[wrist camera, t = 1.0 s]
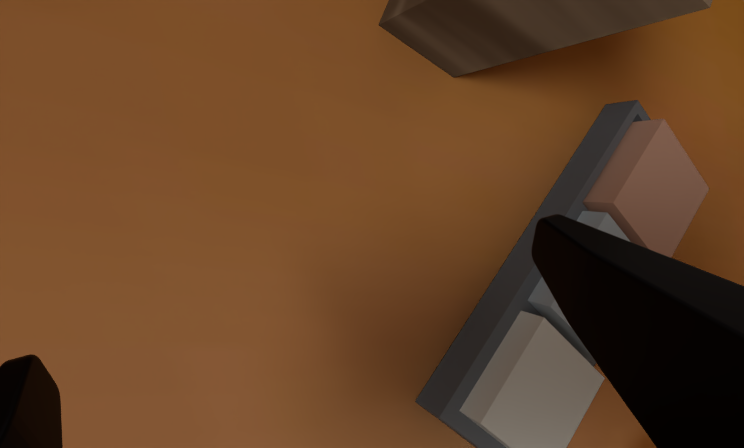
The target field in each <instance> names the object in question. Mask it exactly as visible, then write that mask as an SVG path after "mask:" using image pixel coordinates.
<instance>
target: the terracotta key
mask: <svg viewBox="0 0 744 448" xmlns="http://www.w3.org/2000/svg"><path fill="white" fill-rule="evenodd" d="M708 190H709V187H708V186H707V184H706V183H705V181H704V180H703V178H702V177H701V175H700V174H699V172H698V170H697V169H696V167H695V166H694V164H693V163H692V161H691V160H690V158H689V157H688V155H687V153H686V152H685V150H684V149H683V147H682V146H681V144H680V143H679V141H678V140H677V138H676V136H675V135H674V133H673V132H672V130H671V129H670V127H669V126H668V124H667V123H666V121H665V119H656V120H646V121H637V122H632V123H631V125H630V127H629V128H628V130H627V131H626V133H625V135H624V136H623V138H622V139H621V141H620V143H619V144H618V146H617V148H616V149H615V151H614V152H613V154H612V156H611V157H610V159H609V160H608V162H607V164H606V165H605V167H604V169H603V170H602V172H601V173H600V175H599V177H598V178H597V180H596V181H595V183H594V185H593V186H592V188H591V190H590V191H589V193H588V194H587V196H586V198H585V199H584V201H583V202H582V203H583V204H584V205H585V206H586V208H587V209H588V210H589V211H592V212H608V214H609V215H610V216H611V218H612V219H613V220H614V221H615V223H616V224H617V225H618V226H619V228H620V229H621V230H622V231H623V233H624V234H625V235H626V237H627V238H628V239H629V240H630V242H632V243H634V244H637V245H640V246H642V247H645V248H647V249H650V250H652V251H655V252H657V253H660V254H663V255H665V256H668V257H670V258H671V257H672V255H673V254H674V252H675V250H676V248H677V246H678V244H679V243H680V241H681V239H682V237H683V235H684V234H685V232H686V230H687V228H688V226H689V225H690V223H691V221H692V219H693V217H694V215H695V214H696V212H697V210H698V208H699V206H700V205H701V203H702V201H703V199H704V197H705V196H706V194H707V192H708Z"/></svg>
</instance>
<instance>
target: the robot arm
mask: <svg viewBox="0 0 744 448" xmlns="http://www.w3.org/2000/svg"><path fill="white" fill-rule="evenodd" d="M531 253H532V258H533V261H534V263H535V265H536V267H537V269H538V270H539V272H540V274H541V276H542V277H543V279H544V281H545V283H546V285H547V286H548V288H549V290H550V292H551V293H552V295H553V297H554V299H555V301H556V302H557V304H558V306H559V308H560V309H561V311H562V313H563V315H564V316H565V318H566V320H567V321H568V323H569V325H570V326H571V327H572V329H573V330H574V332H575V333H576V335H577V336H578V338H579V339H580V340H581V342H582V343H583V345H584V346H585V347H586V349H587V350H588V352H589V353H590V354H591V356H592V357H593V359H594V360H595V361H596V363H597V364H598V366H599V367H600V368H601V370H602V371H603V373H604V374H605V376H606V377H607V378H608V380H609V381H610V383H611V384H612V385H613V387H614V388H615V390H616V391H617V392H618V394H619V395H620V397H621V398H622V399H623V401H624V402H625V404H626V405H627V406H628V408H629V409H630V411H631V412H632V413H633V415H634V416H635V418H636V419H637V420H638V422H639V423H640V425H641V426H642V427H643V429H644V430H645V432H646V433H647V434H648V436H649V437H650V439H651V440H652V441H653V443H654V444H655V446H656V447H657V448H744V286H742V285H739V284H737V283H734V282H731V281H729V280H726V279H724V278H721V277H719V276H716V275H714V274H711V273H709V272H706V271H703V270H701V269H698V268H696V267H693V266H691V265H688V264H686V263H683V262H680V261H678V260H675V259H673V258H670V257H668V256H665V255H663V254H660V253H657V252H655V251H652V250H650V249H647V248H645V247H642V246H640V245H637V244H634V243H632V242H629V241H627V240H624V239H622V238H619V237H617V236H614V235H612V234H609V233H606V232H604V231H601V230H599V229H596V228H594V227H591V226H589V225H586V224H583V223H581V222H578V221H576V220H573V219H571V218H568V217H566V216H563V215H560V214H555V215H551V216H547V217H543V218H541V219H539V220H538V222H537V224H536V228H535V233H534V239H533V244H532V249H531ZM0 448H62V425H61V402H60V393H59V390H58V387H57V385H56V383H55V381H54V380H53V378H52V377H51V375H50V374H49V372H48V371H47V369H46V368H45V366H44V365H43V363H42V362H41V360H40V359H39V358H38V357H37V356H36V355H26V356H23V357H19V358H15V359H11V360H8V361H6V362H5V363H3V364H2V365H1V366H0Z"/></svg>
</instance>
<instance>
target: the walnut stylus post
mask: <svg viewBox="0 0 744 448" xmlns="http://www.w3.org/2000/svg"><path fill="white" fill-rule="evenodd" d="M711 3H712V0H389V2H388V4H387V6H386V9H385V11H384V13H383V16H382V18H381V20H380V23H379V26H381V27H382V28H384V29H385V30H386V31H388V32H389V33H391V34H392V35H394V36H395V37H396V38H398V39H399V40H401V41H402V42H404V43H405V44H406V45H408V46H409V47H411V48H412V49H414V50H415V51H416V52H418V53H419V54H421V55H422V56H424V57H425V58H426V59H428V60H429V61H431V62H432V63H434V64H435V65H436V66H438V67H439V68H441V69H442V70H444V71H445V72H447V73H448V74H449V75H451V76H452V77H457V76H461V75H464V74H468V73H472V72H475V71H479V70H483V69H486V68H490V67H494V66H497V65H501V64H505V63H508V62H512V61H516V60H519V59H523V58H527V57H530V56H534V55H538V54H541V53H545V52H549V51H552V50H556V49H560V48H563V47H567V46H571V45H574V44H578V43H582V42H585V41H589V40H593V39H596V38H600V37H604V36H607V35H611V34H615V33H618V32H622V31H626V30H629V29H633V28H637V27H641V26H644V25H648V24H652V23H655V22H659V21H663V20H666V19H670V18H674V17H677V16H681V15H685V14H688V13H692V12H696V11H699V10H703V9H707V8H710V6H711Z"/></svg>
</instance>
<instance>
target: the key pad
mask: <svg viewBox="0 0 744 448" xmlns="http://www.w3.org/2000/svg"><path fill="white" fill-rule="evenodd" d="M646 120H650V118H649V117H648V115H647V114H646V112H645V111H644V109H643V108H642V106H641V104H640V103H639V101H638V100H634V101H627V102H620V103H613V104H606V105H605V107H604V108H603V110H602V111H601V113H600V114H599V116H598V118H597V119H596V121H595V122H594V124H593V125H592V127H591V128H590V130H589V132H588V133H587V135H586V136H585V138H584V139H583V141H582V142H581V144H580V146H579V147H578V149H577V150H576V152H575V153H574V155H573V156H572V158H571V160H570V161H569V163H568V164H567V166H566V167H565V169H564V170H563V172H562V174H561V175H560V177H559V178H558V180H557V181H556V183H555V184H554V186H553V188H552V189H551V191H550V192H549V194H548V195H547V197H546V198H545V200H544V202H543V203H542V205H541V206H540V208H539V209H538V211H537V212H536V214H535V216H534V217H533V219H532V220H531V222H530V223H529V225H528V226H527V228H526V230H525V231H524V233H523V234H522V236H521V237H520V239H519V241H518V242H517V244H516V245H515V247H514V248H513V250H512V251H511V253H510V255H509V256H508V258H507V259H506V261H505V262H504V264H503V265H502V267H501V269H500V270H499V272H498V273H497V275H496V276H495V278H494V279H493V281H492V283H491V284H490V286H489V287H488V289H487V290H486V292H485V293H484V295H483V297H482V298H481V300H480V301H479V303H478V304H477V306H476V307H475V309H474V311H473V312H472V314H471V315H470V317H469V318H468V320H467V321H466V323H465V325H464V326H463V328H462V329H461V331H460V332H459V334H458V335H457V337H456V339H455V340H454V342H453V343H452V345H451V346H450V348H449V350H448V351H447V353H446V354H445V356H444V357H443V359H442V360H441V362H440V364H439V365H438V367H437V368H436V370H435V371H434V373H433V374H432V376H431V378H430V379H429V381H428V382H427V384H426V385H425V387H424V388H423V390H422V392H421V393H420V395H419V396H418V398H417V399H416V401H415V402H416V403H418V404H419V405H420V406H422V407H423V408H424V409H426V410H427V411H428V412H430V413H431V414H432V415H434V416H435V417H436V418H438V419H439V420H440V421H442V422H443V423H444V424H446V425H447V426H448V427H450V428H451V429H452V430H453V431H455V432H456V433H457V434H459V435H460V436H461V437H463V438H464V439H465V440H467V441H468V442H469V443H471V444H472V445H473V446H475V447H476V448H567V446H568V444H569V442H570V440H571V438H572V437H573V435H574V433H575V431H576V429H577V428H578V426H579V424H580V422H581V420H582V419H583V417H584V415H585V413H586V411H587V409H588V408H589V406H590V404H591V402H592V400H593V399H594V397H595V395H596V393H597V391H598V390H599V388H600V386H601V384H602V382H603V380H604V379H605V378H604V377H603V376H602V375H601V374H600V373H599V372H598V371H597V370H596V369H595V368H594V366H595V364H596V361H595V360H594V359H593V357H592V356H591V354H590V353H589V352H588V350H587V349H586V347H585V346H584V345H583V343H582V342H581V340H580V339H579V338H578V336H577V335H576V333H575V332H574V330H573V329H572V327H571V326H570V325H569V323H568V321H567V320H566V318H565V316H564V315H563V313H562V311H561V309H560V308H559V306H558V304H557V302H556V301H555V299H554V297H553V295H552V293H551V292H550V290H549V288H548V286H547V285H546V283H545V281H544V279H543V277H542V276H541V274H540V272H539V270H538V269H537V267H536V265H535V263H534V261H533V258H532V253H531V249H532V244H533V239H534V233H535V228H536V224H537V222H538V220H539V219H541V218H543V217H547V216H551V215H555V214H560V215H563V216H566V217H568V218H571V219H573V220H576V221H578V222H581V223H583V224H586V225H589V226H591V227H594V228H596V229H599V230H601V231H604V232H606V233H609V234H612V235H614V236H617V237H619V238H622V239H624V240H627V241H629V242H630V240H629V239H628V238H627V237H626V235H625V234H624V233H623V231H622V230H621V229H620V228H619V226H618V225H617V224H616V223H615V221H614V220H613V219H612V218H611V216H610V215H609V214H608V212H592V211H589V210H588V209H587V208H586V206H585V205H584V204H583V203H582V202H583V201H584V199H585V198H586V196H587V194H588V193H589V191H590V190H591V188H592V186H593V185H594V183H595V181H596V180H597V178H598V177H599V175H600V173H601V172H602V170H603V169H604V167H605V165H606V164H607V162H608V160H609V159H610V157H611V156H612V154H613V152H614V151H615V149H616V148H617V146H618V144H619V143H620V141H621V139H622V138H623V136H624V135H625V133H626V131H627V130H628V128H629V127H630V125H631V123H632V122H637V121H646Z"/></svg>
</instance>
